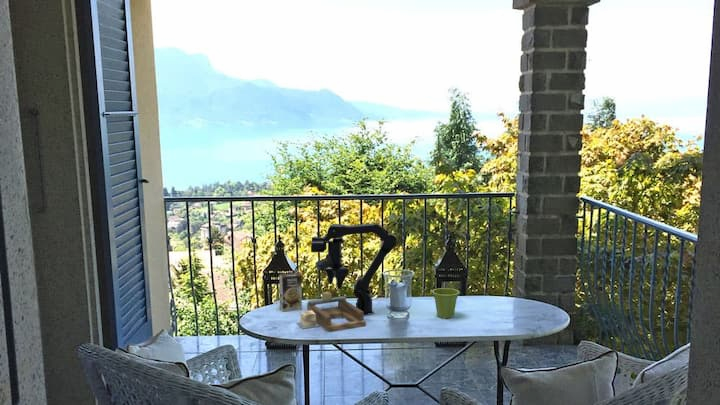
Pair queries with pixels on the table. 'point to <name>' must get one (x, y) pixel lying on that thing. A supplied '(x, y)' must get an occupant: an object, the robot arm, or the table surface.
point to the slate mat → (307, 326)
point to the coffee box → (290, 292)
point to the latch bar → (327, 299)
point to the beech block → (308, 318)
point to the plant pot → (445, 301)
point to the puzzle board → (338, 316)
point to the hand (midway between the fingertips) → (334, 286)
